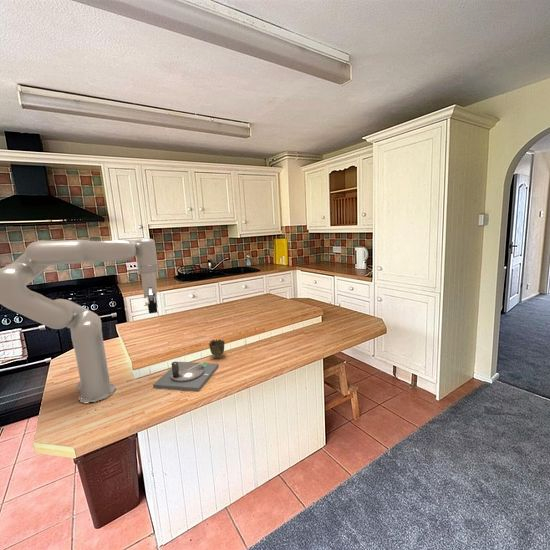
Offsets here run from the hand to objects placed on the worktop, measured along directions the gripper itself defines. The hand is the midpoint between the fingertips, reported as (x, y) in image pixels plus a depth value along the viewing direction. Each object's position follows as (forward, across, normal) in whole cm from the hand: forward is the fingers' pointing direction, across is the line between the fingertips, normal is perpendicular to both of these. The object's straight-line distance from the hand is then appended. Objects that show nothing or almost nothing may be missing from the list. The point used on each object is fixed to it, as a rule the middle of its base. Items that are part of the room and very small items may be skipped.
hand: (153, 309), depth 123 cm
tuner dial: (+29, +5, +12) cm, 31 cm away
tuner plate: (+30, +6, +10) cm, 33 cm away
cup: (+31, -7, +26) cm, 41 cm away
